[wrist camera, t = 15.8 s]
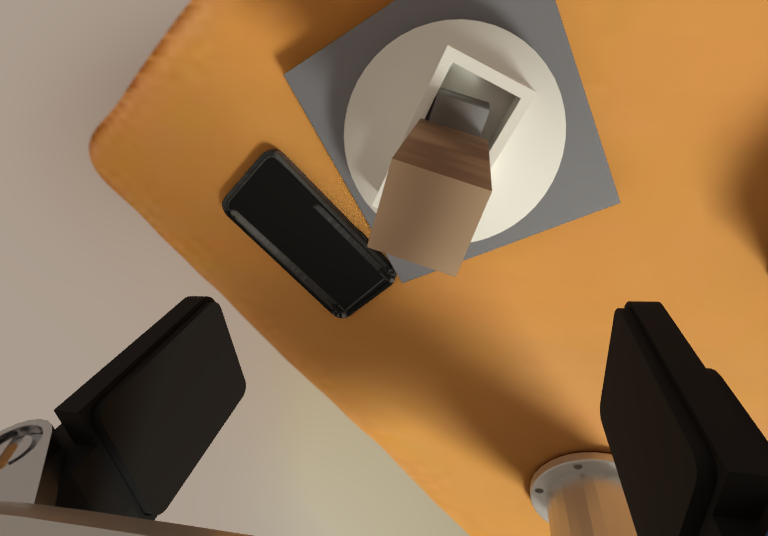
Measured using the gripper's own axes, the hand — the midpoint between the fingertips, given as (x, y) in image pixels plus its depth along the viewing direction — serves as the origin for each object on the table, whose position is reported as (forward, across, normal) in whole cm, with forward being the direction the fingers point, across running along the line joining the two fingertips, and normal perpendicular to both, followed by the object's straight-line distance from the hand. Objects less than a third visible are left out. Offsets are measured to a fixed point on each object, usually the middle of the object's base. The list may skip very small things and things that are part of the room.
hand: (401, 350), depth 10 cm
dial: (+22, 0, -1) cm, 22 cm away
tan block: (+20, 0, 0) cm, 20 cm away
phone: (+24, +13, +7) cm, 28 cm away
